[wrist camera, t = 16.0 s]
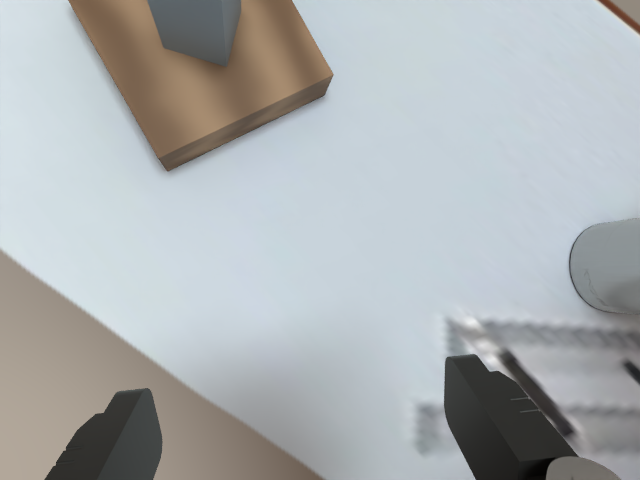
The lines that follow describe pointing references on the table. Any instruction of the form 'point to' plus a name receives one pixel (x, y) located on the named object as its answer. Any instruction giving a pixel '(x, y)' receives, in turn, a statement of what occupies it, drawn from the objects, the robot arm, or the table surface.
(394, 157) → the table surface
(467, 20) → the table surface
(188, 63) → the walnut plinth
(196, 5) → the slate block
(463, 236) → the table surface
